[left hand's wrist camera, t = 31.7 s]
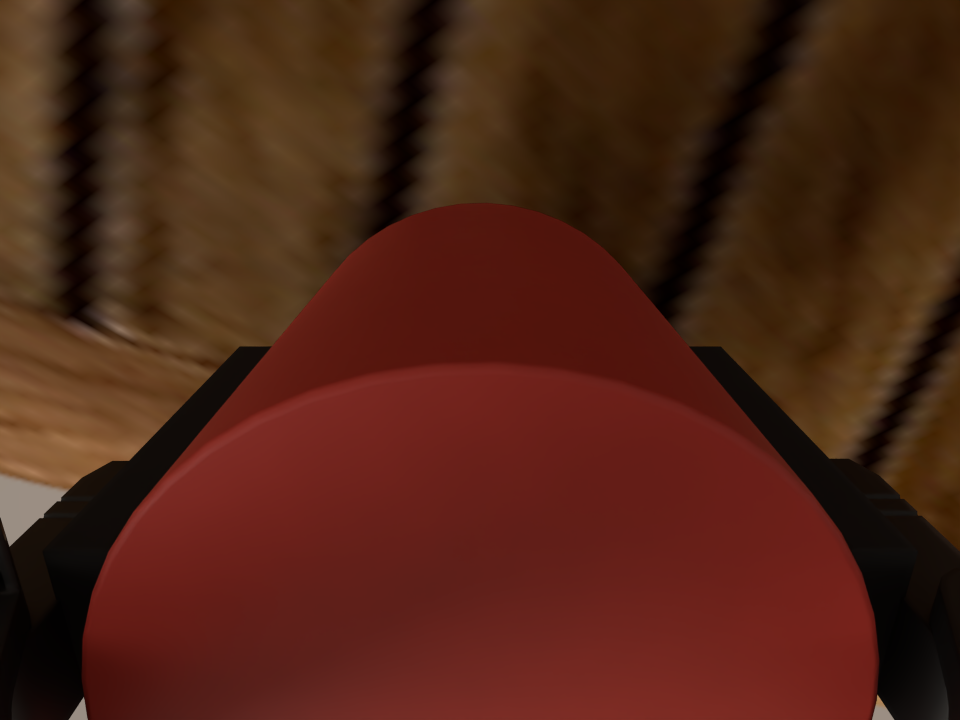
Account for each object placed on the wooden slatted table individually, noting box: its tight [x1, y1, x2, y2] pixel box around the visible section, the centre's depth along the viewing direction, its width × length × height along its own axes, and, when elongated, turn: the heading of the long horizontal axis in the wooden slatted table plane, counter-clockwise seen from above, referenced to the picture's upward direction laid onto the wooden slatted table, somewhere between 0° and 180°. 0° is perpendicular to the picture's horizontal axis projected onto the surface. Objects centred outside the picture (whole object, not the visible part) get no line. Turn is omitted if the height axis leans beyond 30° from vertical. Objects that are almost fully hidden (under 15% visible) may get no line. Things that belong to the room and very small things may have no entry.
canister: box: [82, 203, 879, 720], centre depth 11 cm, size 8×8×9 cm
